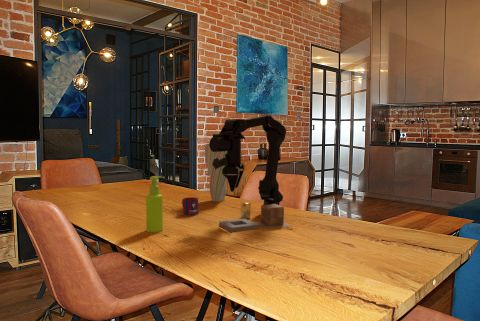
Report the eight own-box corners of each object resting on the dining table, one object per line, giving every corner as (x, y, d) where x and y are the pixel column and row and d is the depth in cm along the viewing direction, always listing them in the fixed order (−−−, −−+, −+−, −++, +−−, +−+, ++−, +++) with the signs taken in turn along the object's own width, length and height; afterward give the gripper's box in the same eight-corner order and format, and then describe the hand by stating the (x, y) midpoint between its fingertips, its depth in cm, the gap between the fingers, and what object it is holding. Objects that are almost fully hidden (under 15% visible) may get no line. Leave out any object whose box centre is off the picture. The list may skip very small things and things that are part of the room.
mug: (186, 216, 166) (186, 200, 166) (177, 211, 175) (177, 197, 174) (200, 214, 170) (200, 199, 169) (191, 210, 178) (191, 195, 178)
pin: (247, 218, 163) (247, 201, 163) (252, 220, 160) (252, 203, 159) (239, 219, 161) (239, 202, 161) (243, 221, 158) (243, 204, 157)
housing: (274, 221, 155) (275, 203, 155) (283, 224, 150) (283, 206, 149) (261, 222, 152) (261, 205, 152) (269, 226, 147) (269, 208, 146)
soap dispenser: (167, 228, 145) (166, 175, 143) (157, 233, 138) (156, 177, 137) (153, 227, 147) (152, 174, 145) (143, 231, 140) (142, 176, 139)
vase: (235, 200, 206) (236, 143, 203) (221, 203, 194) (221, 144, 192) (215, 197, 213) (215, 143, 211) (199, 201, 202) (199, 143, 199)
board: (276, 220, 158) (276, 207, 158) (291, 226, 149) (292, 212, 148) (253, 223, 154) (253, 209, 153) (267, 229, 144) (267, 215, 143)
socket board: (244, 223, 154) (244, 218, 153) (258, 229, 144) (258, 224, 144) (219, 226, 149) (219, 221, 148) (231, 233, 139) (231, 227, 139)
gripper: (219, 149, 164) (219, 185, 165) (208, 152, 145) (209, 193, 147) (245, 149, 162) (245, 186, 163) (237, 152, 144) (238, 193, 145)
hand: (234, 189), depth 155 cm, fingers open, 9 cm apart
